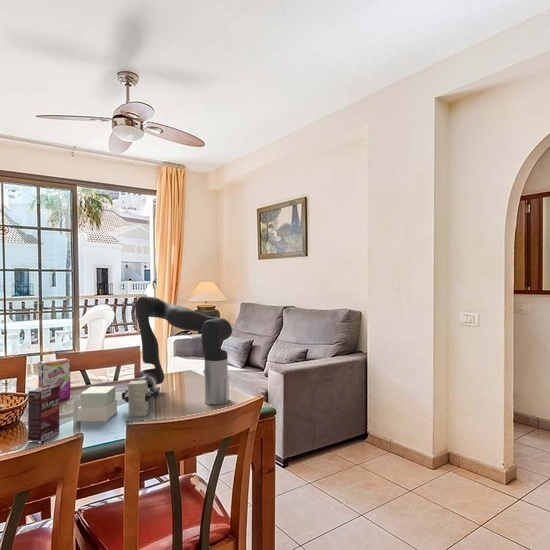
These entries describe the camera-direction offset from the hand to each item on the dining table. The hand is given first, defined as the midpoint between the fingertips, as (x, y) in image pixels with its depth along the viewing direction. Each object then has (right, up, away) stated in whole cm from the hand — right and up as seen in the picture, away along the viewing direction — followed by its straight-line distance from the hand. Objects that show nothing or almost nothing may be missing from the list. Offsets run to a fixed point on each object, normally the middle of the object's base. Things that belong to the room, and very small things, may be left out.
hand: (136, 398), depth 152 cm
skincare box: (0, -7, +2) cm, 7 cm away
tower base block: (-15, -7, +1) cm, 16 cm away
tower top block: (-14, -2, +1) cm, 15 cm away
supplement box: (-23, -7, -19) cm, 31 cm away
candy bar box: (-41, -7, +22) cm, 47 cm away
